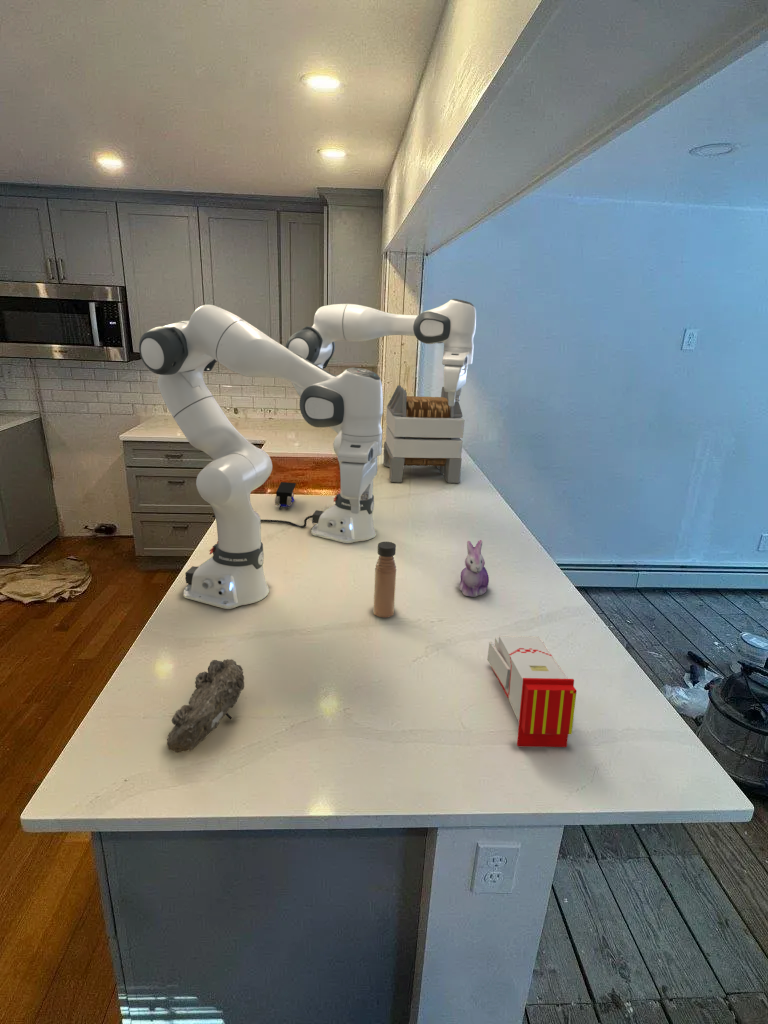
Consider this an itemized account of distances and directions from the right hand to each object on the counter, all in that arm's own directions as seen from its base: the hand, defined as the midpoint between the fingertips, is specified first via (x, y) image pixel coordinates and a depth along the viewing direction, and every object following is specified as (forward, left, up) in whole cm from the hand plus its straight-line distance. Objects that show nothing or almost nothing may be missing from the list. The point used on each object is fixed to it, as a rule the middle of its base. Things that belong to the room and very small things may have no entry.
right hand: (454, 403), depth 174 cm
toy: (+30, -73, -48) cm, 92 cm away
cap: (-6, -49, -29) cm, 57 cm away
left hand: (-10, -60, -15) cm, 63 cm away
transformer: (-27, +86, -48) cm, 102 cm away
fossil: (-26, -98, -48) cm, 112 cm away
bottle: (-6, -49, -48) cm, 69 cm away
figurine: (+14, -28, -48) cm, 57 cm away
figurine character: (-66, +18, -48) cm, 83 cm away
